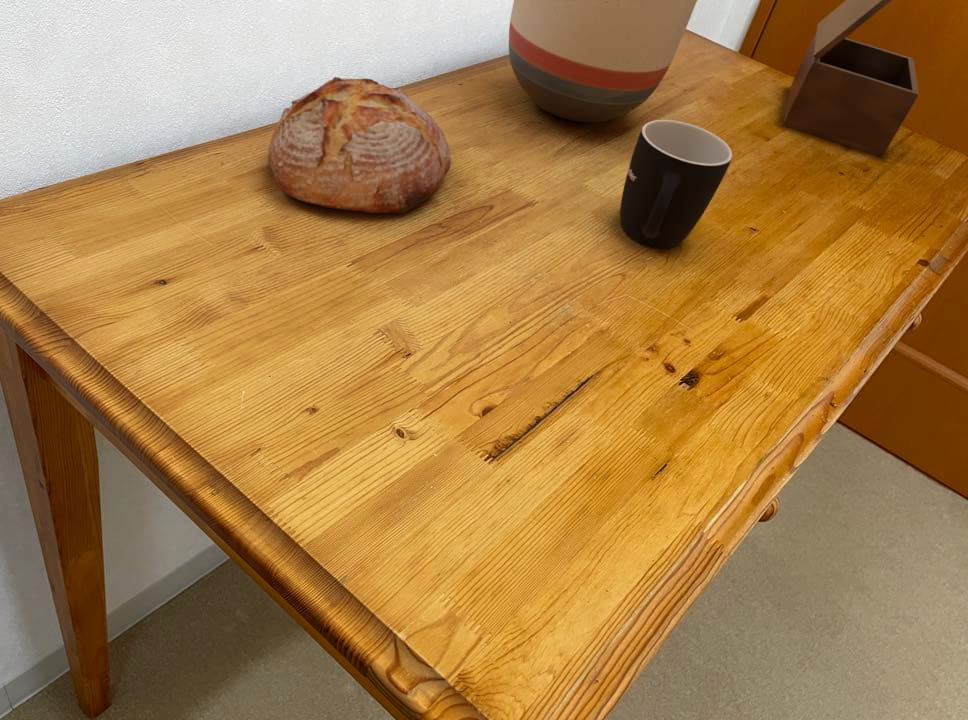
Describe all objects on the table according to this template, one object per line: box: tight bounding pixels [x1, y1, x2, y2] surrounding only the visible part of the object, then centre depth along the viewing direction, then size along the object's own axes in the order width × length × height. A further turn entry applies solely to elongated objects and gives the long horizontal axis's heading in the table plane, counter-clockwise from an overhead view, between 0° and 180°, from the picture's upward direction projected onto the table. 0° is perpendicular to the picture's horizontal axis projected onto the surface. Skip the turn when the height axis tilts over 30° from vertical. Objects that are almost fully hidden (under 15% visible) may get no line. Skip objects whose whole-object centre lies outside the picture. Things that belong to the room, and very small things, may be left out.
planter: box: [508, 0, 698, 123], centre depth 100 cm, size 20×20×21 cm
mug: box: [619, 119, 733, 250], centre depth 83 cm, size 12×9×10 cm
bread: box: [267, 76, 452, 215], centre depth 82 cm, size 16×20×10 cm
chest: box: [782, 31, 920, 158], centre depth 118 cm, size 14×16×9 cm
